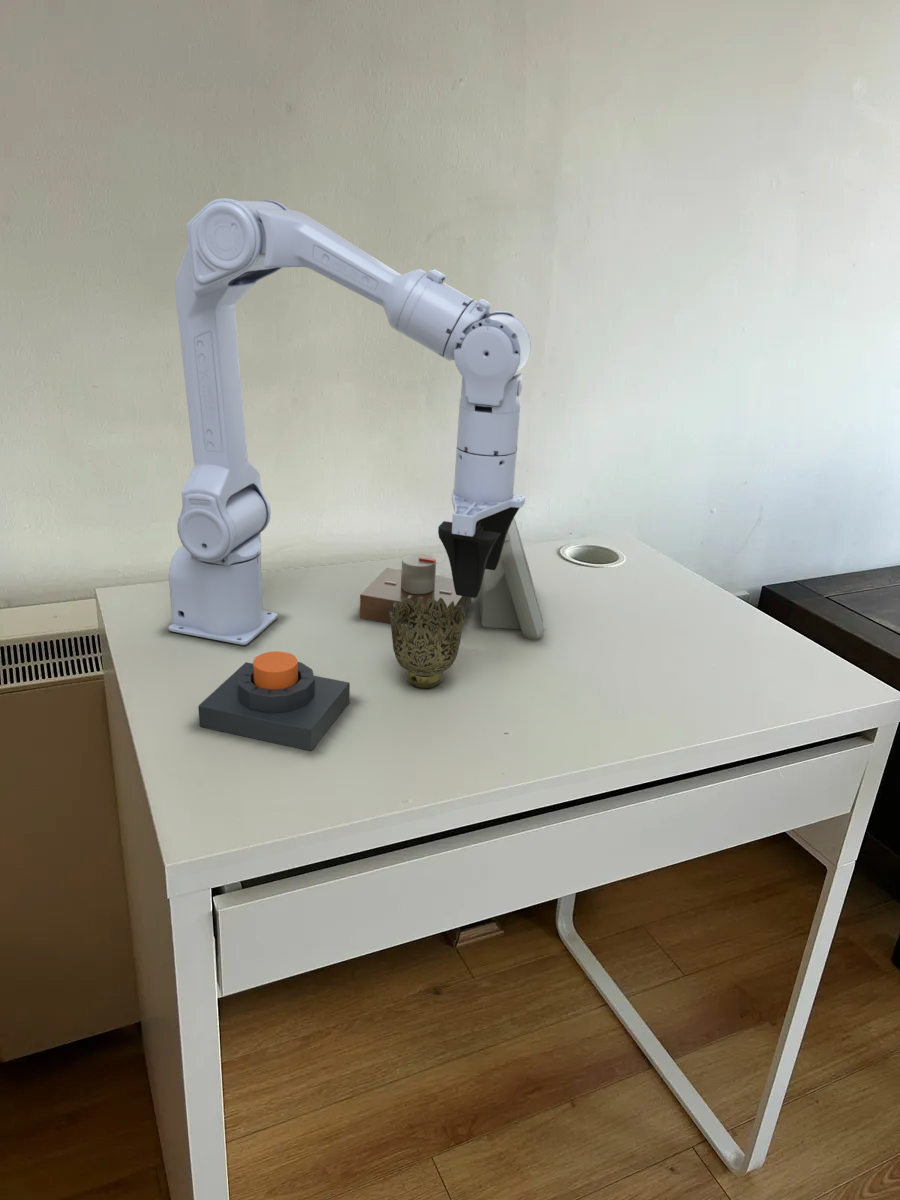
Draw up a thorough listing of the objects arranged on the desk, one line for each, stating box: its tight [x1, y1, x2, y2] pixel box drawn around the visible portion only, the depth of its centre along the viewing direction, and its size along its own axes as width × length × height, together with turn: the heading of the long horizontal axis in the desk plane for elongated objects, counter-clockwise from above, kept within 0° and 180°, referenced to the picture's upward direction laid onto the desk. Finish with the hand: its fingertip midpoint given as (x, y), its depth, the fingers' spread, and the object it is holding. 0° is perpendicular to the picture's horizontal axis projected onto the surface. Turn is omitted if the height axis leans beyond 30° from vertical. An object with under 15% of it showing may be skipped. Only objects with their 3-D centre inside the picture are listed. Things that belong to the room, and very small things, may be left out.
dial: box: [400, 553, 437, 594], centre depth 105 cm, size 4×4×4 cm
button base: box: [198, 661, 351, 752], centre depth 84 cm, size 11×9×4 cm
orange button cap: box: [252, 650, 299, 690], centre depth 82 cm, size 4×4×2 cm
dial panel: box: [359, 567, 472, 625], centre depth 106 cm, size 11×9×3 cm
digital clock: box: [477, 518, 545, 640], centre depth 106 cm, size 16×9×11 cm, turn 169°
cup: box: [389, 596, 466, 689], centre depth 90 cm, size 8×7×8 cm
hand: (476, 581), depth 90 cm, fingers open, 7 cm apart
